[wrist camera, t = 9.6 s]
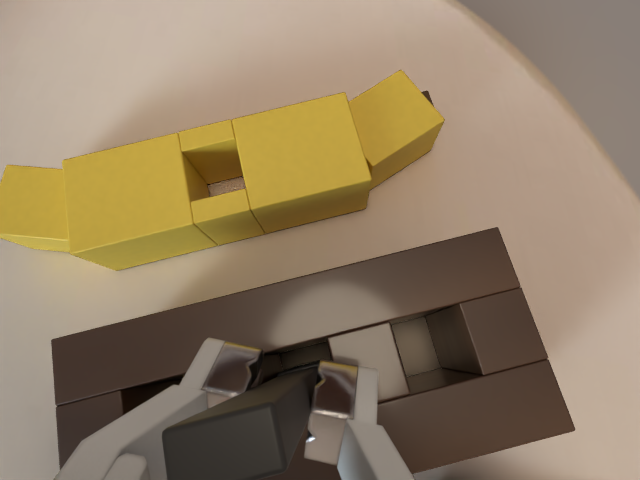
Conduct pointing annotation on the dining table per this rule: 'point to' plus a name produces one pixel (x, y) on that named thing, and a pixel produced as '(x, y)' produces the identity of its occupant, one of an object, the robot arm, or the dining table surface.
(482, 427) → the cutlery block
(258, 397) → the dark grey stepped rod
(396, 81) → the banana
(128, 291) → the dining table surface
